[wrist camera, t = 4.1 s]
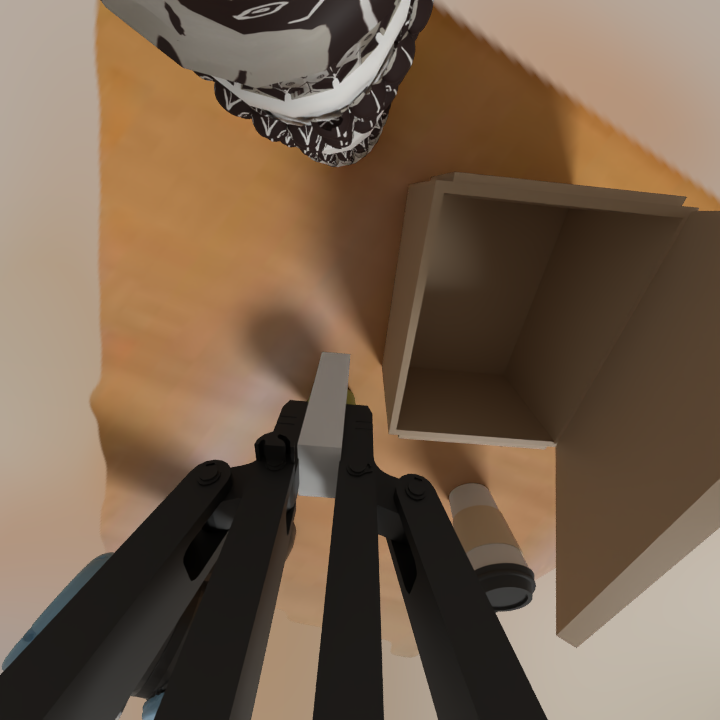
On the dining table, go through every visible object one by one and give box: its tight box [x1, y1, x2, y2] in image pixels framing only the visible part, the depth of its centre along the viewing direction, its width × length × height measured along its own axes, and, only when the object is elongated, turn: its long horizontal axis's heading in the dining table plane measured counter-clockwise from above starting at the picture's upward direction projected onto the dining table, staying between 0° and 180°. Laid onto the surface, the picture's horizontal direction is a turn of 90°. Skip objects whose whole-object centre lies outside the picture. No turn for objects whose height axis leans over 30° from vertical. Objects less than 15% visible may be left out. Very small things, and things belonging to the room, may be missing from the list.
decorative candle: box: [101, 0, 434, 167], centre depth 14 cm, size 9×9×25 cm
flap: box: [556, 211, 720, 648], centre depth 16 cm, size 16×20×1 cm
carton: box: [382, 172, 699, 449], centre depth 28 cm, size 16×21×12 cm
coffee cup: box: [449, 483, 536, 613], centre depth 43 cm, size 9×9×15 cm
